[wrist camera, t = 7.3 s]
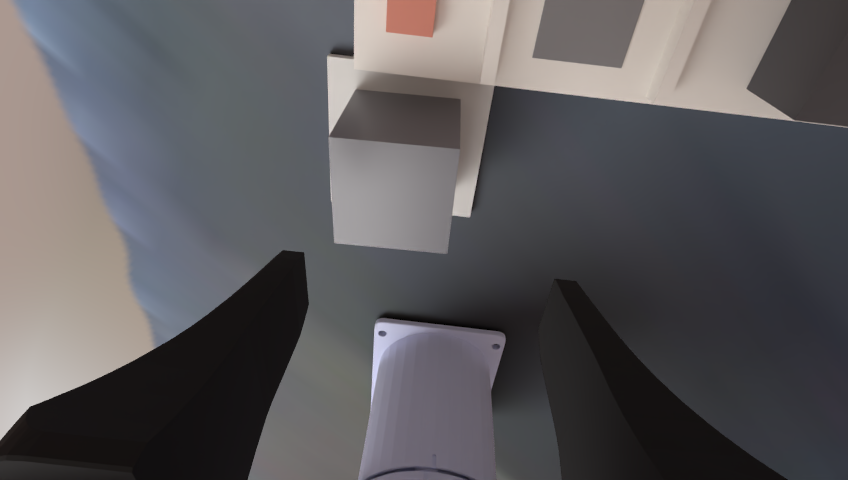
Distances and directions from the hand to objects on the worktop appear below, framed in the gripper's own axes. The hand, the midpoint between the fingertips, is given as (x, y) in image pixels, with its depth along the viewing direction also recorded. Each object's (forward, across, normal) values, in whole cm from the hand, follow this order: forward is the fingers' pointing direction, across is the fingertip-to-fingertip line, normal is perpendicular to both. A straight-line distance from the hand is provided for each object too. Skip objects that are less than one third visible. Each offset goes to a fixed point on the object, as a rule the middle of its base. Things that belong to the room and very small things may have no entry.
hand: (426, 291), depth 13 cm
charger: (+10, +2, 0) cm, 10 cm away
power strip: (+10, -7, -6) cm, 14 cm away
